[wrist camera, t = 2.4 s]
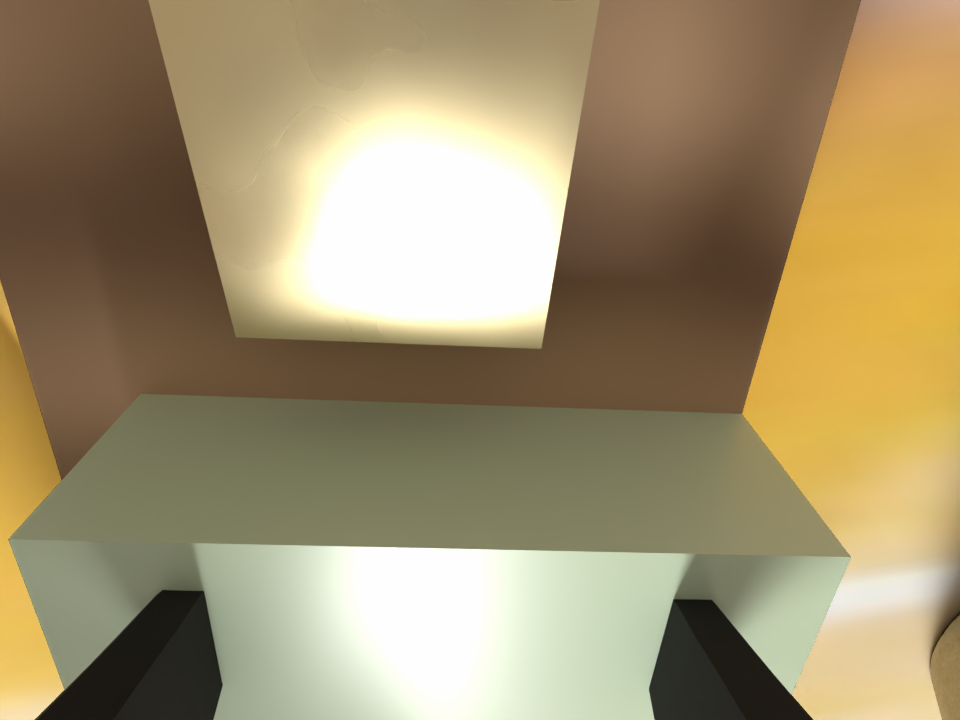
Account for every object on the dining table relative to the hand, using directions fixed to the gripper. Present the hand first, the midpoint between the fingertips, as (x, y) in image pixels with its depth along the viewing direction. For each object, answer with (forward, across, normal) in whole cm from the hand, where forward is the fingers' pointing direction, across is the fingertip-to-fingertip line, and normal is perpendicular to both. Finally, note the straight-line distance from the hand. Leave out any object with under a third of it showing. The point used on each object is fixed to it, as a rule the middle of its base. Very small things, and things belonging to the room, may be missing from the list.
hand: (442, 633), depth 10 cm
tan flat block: (+2, +1, -7) cm, 7 cm away
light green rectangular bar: (+4, 0, 0) cm, 4 cm away
